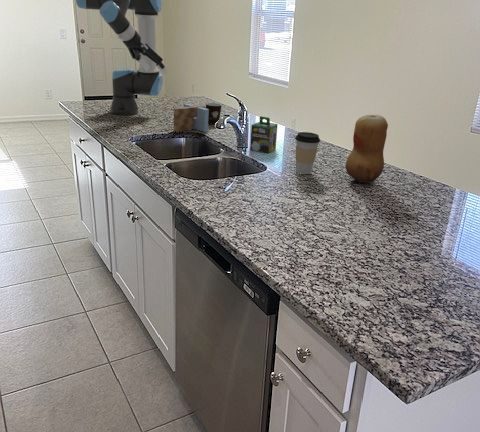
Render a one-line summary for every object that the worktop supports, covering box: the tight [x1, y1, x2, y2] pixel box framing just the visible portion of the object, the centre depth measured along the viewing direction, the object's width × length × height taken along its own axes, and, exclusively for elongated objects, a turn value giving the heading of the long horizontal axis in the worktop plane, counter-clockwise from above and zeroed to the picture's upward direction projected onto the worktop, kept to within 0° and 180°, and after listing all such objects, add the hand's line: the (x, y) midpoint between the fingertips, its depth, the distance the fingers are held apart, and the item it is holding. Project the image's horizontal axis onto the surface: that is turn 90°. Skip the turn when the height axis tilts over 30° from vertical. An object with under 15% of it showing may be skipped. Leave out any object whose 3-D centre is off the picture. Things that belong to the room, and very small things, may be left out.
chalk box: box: [249, 116, 278, 154], centre depth 203 cm, size 9×9×15 cm
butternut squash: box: [345, 114, 389, 183], centre depth 169 cm, size 14×13×25 cm
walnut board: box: [173, 105, 206, 133], centre depth 230 cm, size 18×2×11 cm, turn 137°
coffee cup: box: [294, 131, 321, 175], centre depth 176 cm, size 9×9×15 cm
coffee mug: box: [205, 102, 223, 125], centre depth 248 cm, size 12×9×10 cm
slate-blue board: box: [183, 103, 209, 133], centre depth 233 cm, size 16×2×11 cm, turn 47°
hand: (157, 71), depth 215 cm, fingers open, 13 cm apart
